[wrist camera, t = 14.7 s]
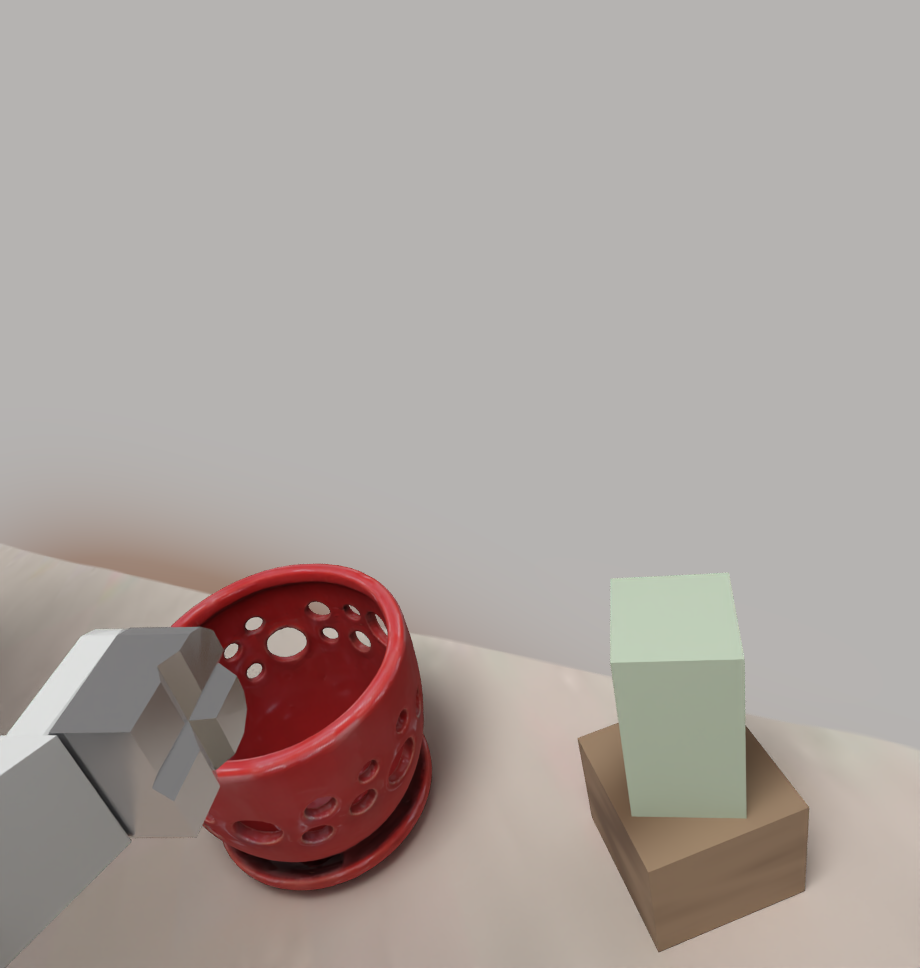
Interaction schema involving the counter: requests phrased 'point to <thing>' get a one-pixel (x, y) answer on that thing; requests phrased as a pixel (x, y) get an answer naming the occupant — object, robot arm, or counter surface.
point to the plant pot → (318, 728)
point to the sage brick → (680, 695)
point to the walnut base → (699, 845)
